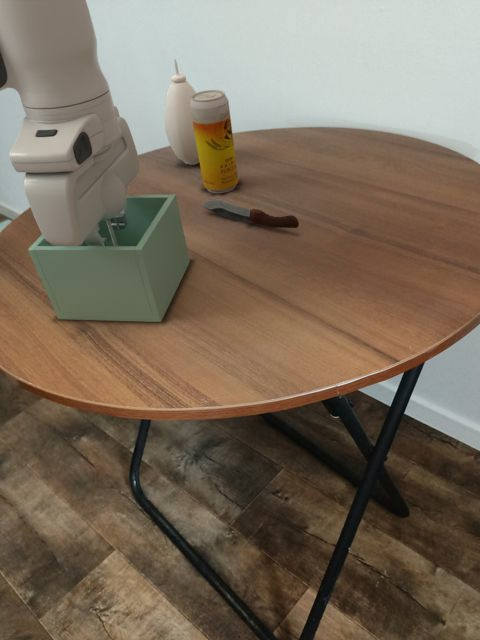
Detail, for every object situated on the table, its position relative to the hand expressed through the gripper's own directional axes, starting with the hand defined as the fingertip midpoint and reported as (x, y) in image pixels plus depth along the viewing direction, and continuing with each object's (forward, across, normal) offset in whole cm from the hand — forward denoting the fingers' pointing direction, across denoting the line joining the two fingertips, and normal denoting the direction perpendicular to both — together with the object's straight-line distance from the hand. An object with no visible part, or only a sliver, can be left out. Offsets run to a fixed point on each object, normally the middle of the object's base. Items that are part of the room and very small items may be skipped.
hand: (111, 240), depth 64 cm
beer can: (+7, -31, +6) cm, 32 cm away
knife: (+7, -18, +13) cm, 23 cm away
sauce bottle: (+8, -42, -2) cm, 43 cm away
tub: (+7, 0, 0) cm, 7 cm away
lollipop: (+6, 0, 0) cm, 6 cm away
